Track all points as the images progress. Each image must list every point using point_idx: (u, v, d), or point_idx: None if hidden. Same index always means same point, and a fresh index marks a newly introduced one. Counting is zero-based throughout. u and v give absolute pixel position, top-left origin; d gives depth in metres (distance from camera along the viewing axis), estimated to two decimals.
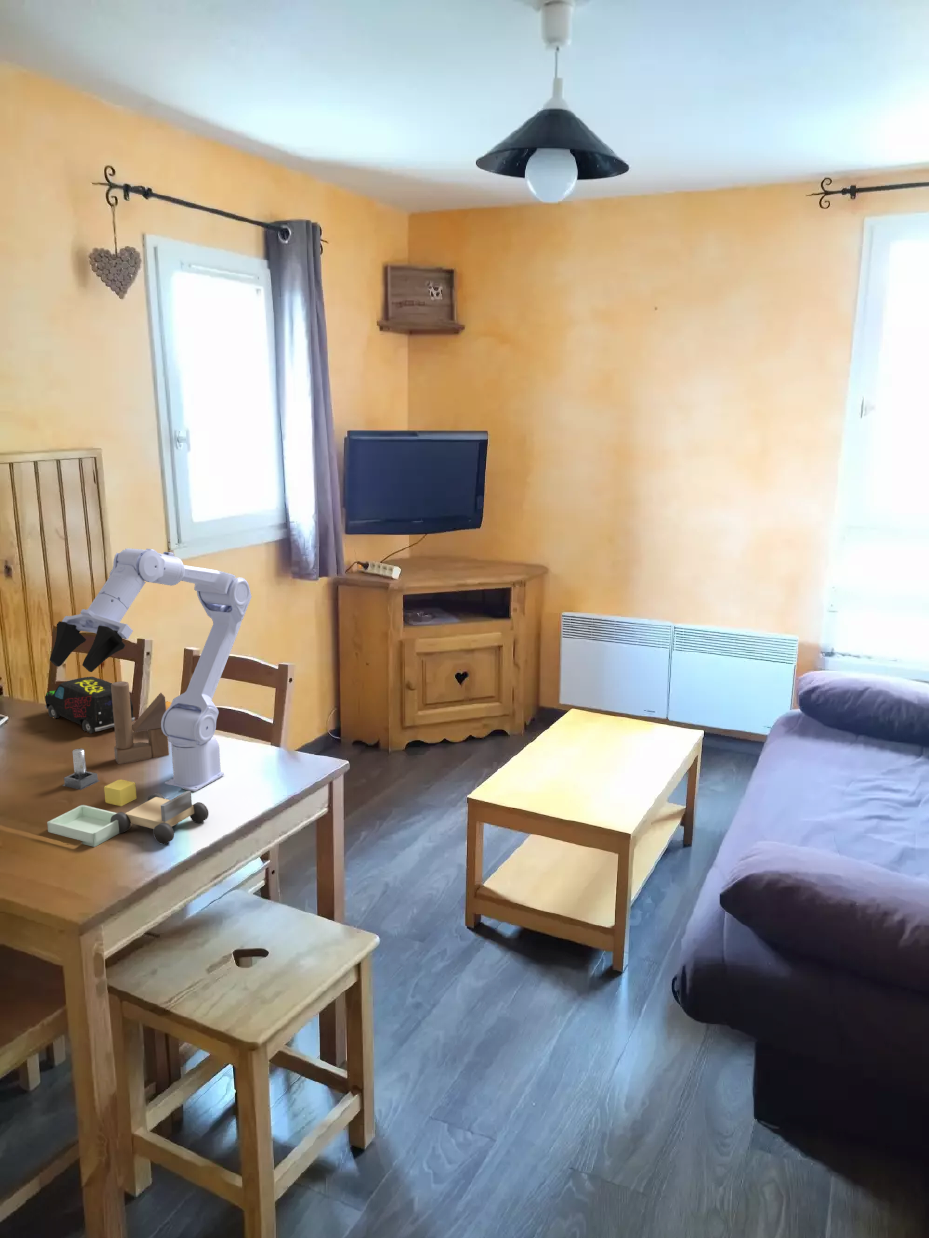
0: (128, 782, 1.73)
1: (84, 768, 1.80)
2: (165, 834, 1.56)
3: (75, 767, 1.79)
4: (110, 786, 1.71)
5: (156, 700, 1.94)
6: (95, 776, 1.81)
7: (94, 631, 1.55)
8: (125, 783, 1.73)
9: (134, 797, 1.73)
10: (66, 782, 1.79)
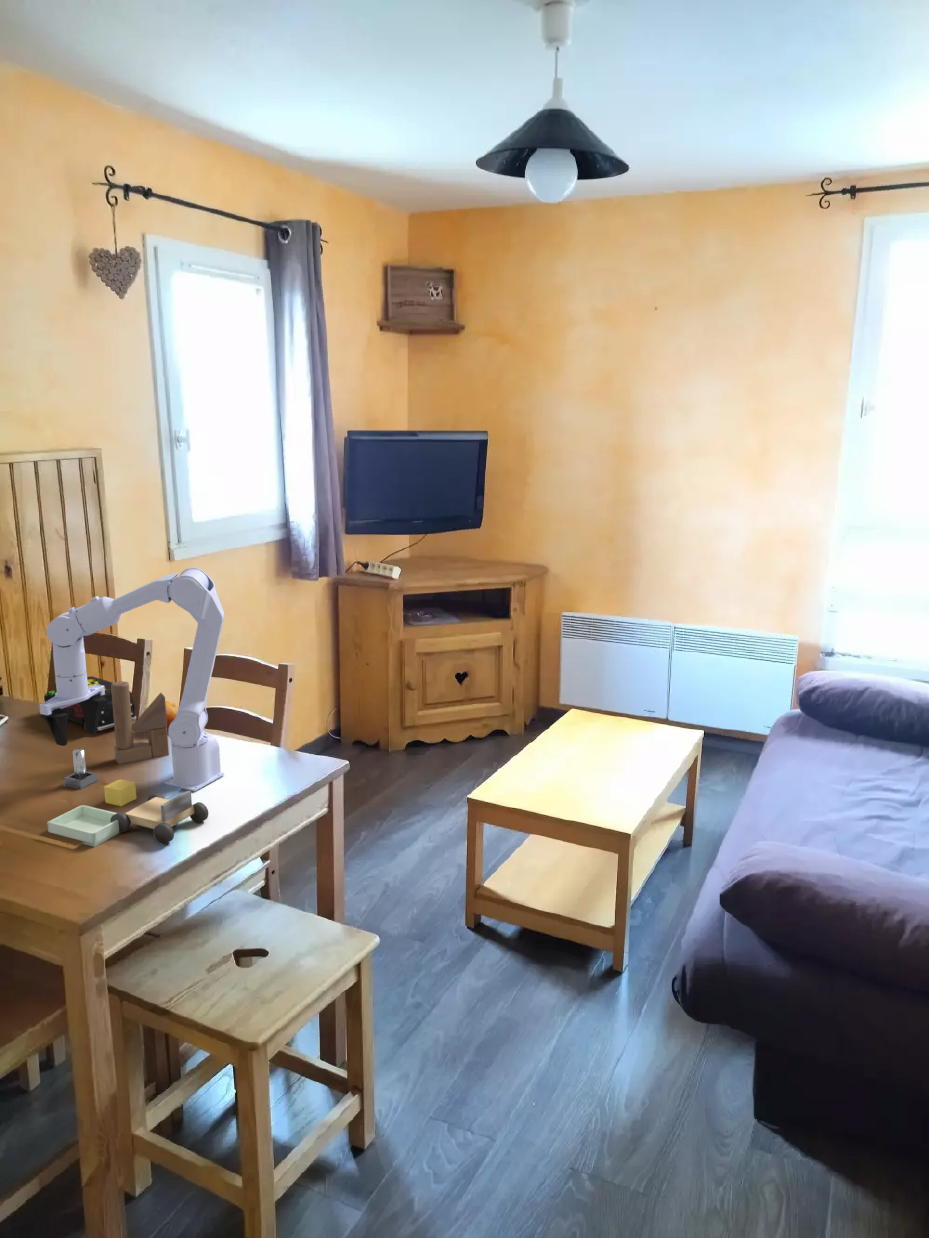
0: (128, 782, 1.73)
1: (84, 768, 1.80)
2: (165, 834, 1.56)
3: (75, 767, 1.79)
4: (110, 786, 1.71)
5: (156, 700, 1.94)
6: (95, 776, 1.81)
7: (72, 703, 1.76)
8: (125, 783, 1.73)
9: (134, 797, 1.73)
10: (66, 782, 1.79)
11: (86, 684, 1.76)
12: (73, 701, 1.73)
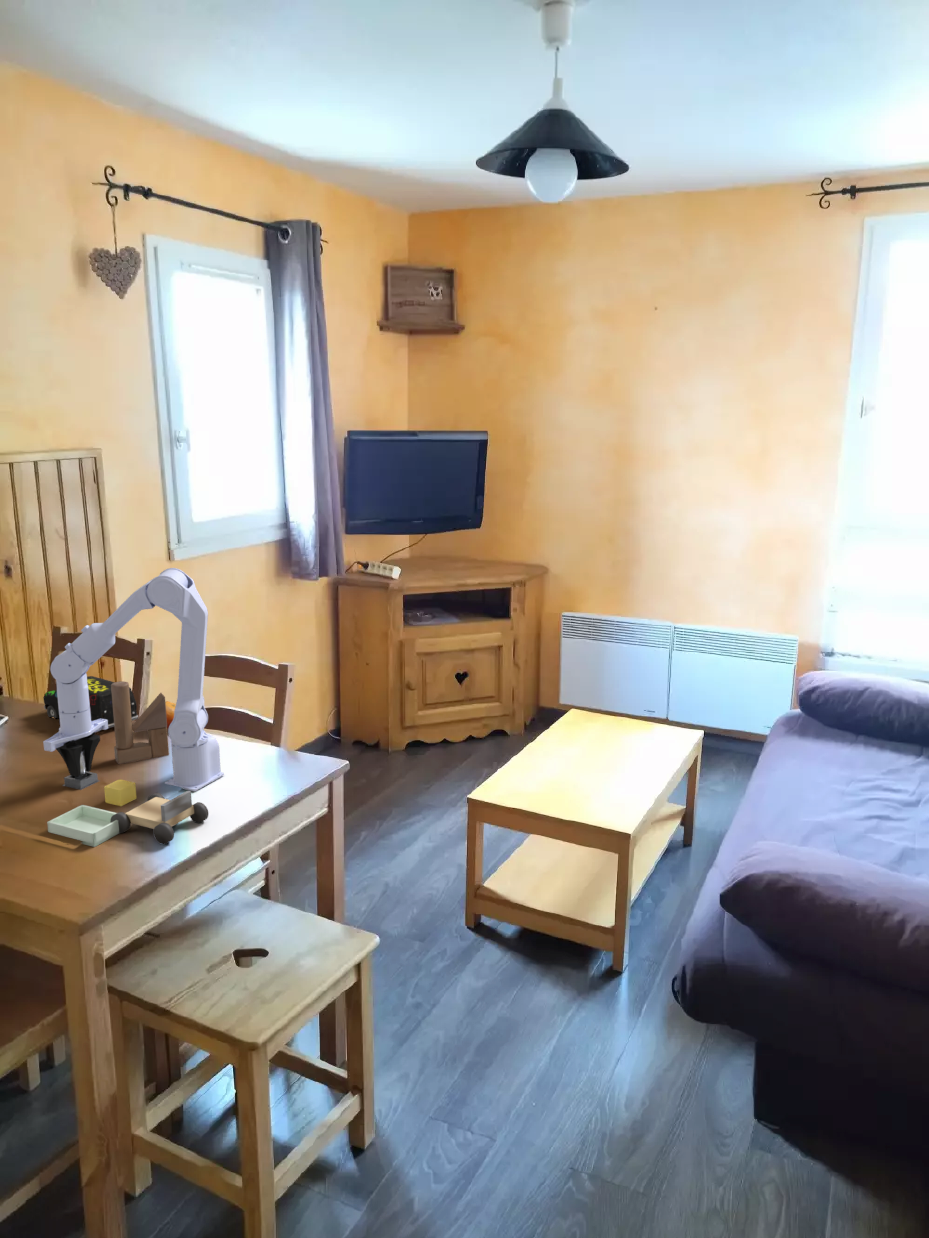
0: (128, 782, 1.73)
1: (84, 768, 1.80)
2: (165, 834, 1.56)
3: None
4: (110, 786, 1.71)
5: (156, 700, 1.94)
6: (95, 776, 1.81)
7: (75, 739, 1.78)
8: (125, 783, 1.73)
9: (134, 797, 1.73)
10: (66, 782, 1.79)
11: (89, 719, 1.78)
12: (77, 737, 1.75)
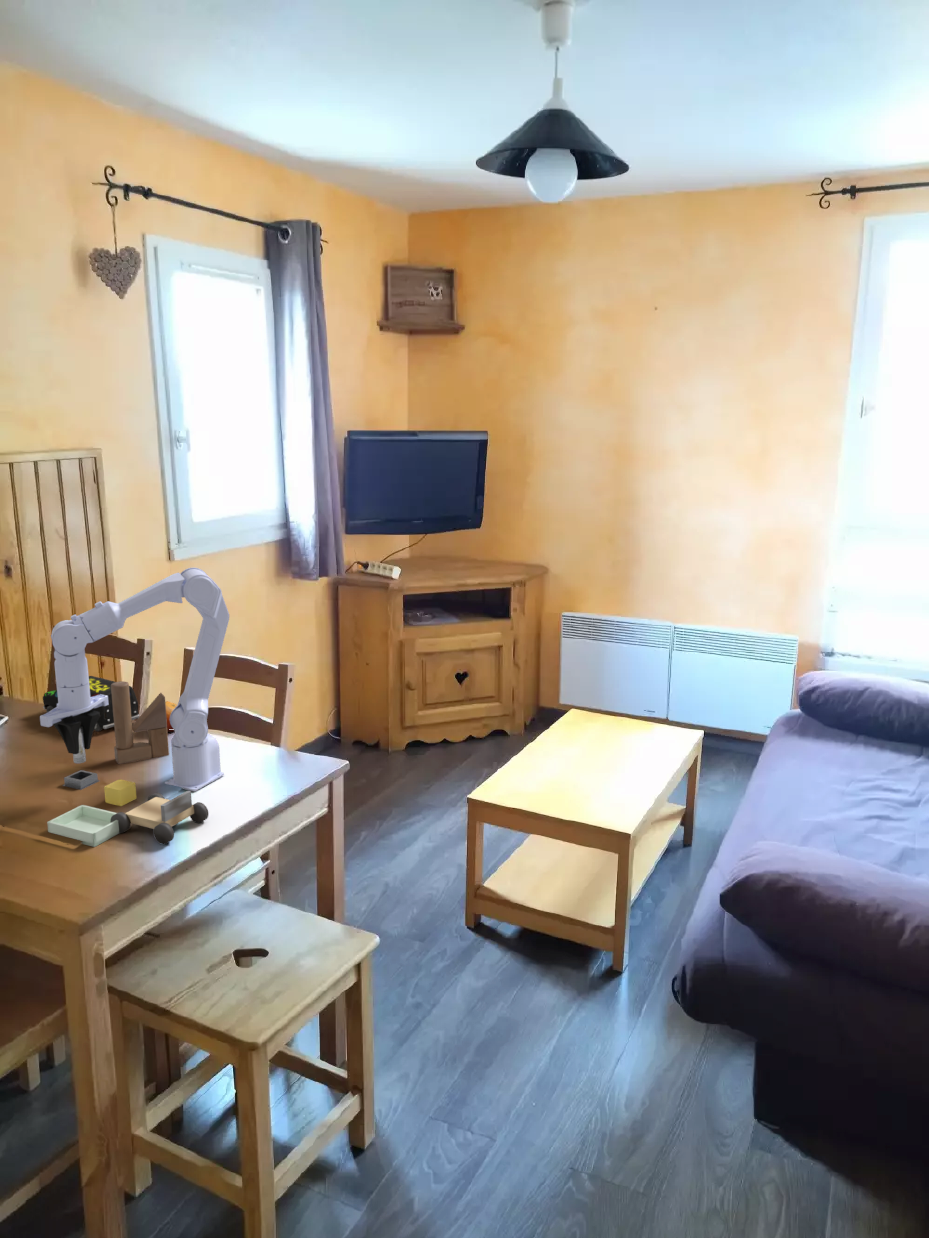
0: (128, 782, 1.73)
1: (82, 746, 1.72)
2: (165, 834, 1.56)
3: None
4: (110, 786, 1.71)
5: (156, 700, 1.94)
6: (95, 776, 1.81)
7: (74, 715, 1.70)
8: (125, 783, 1.73)
9: (134, 797, 1.73)
10: (66, 782, 1.79)
11: (88, 694, 1.70)
12: (75, 712, 1.67)
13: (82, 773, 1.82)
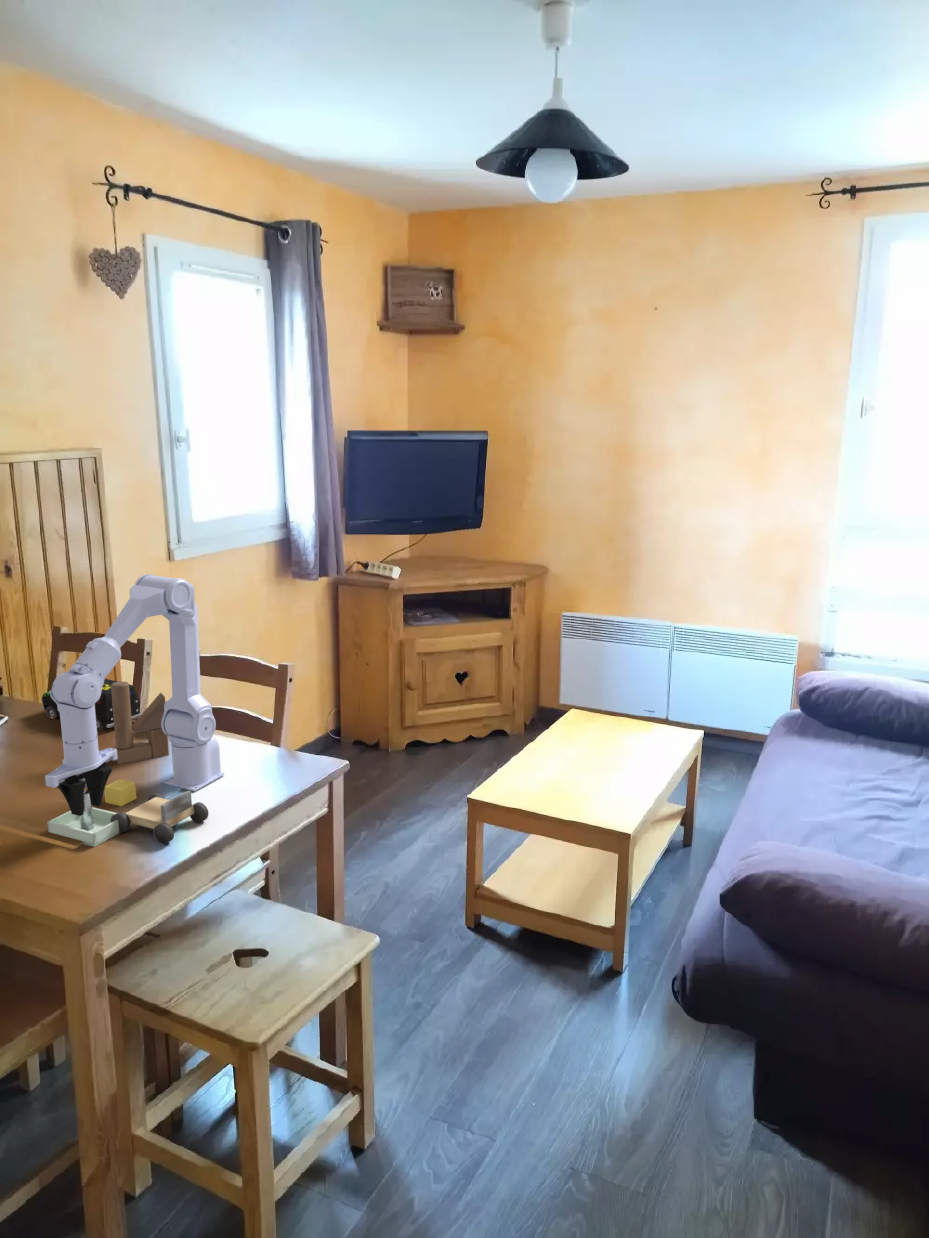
0: (128, 782, 1.73)
1: (90, 812, 1.60)
2: (165, 834, 1.56)
3: None
4: (110, 786, 1.71)
5: (156, 700, 1.94)
6: None
7: None
8: (125, 783, 1.73)
9: (134, 797, 1.73)
10: None
11: (97, 750, 1.58)
12: (82, 770, 1.55)
13: (82, 773, 1.82)
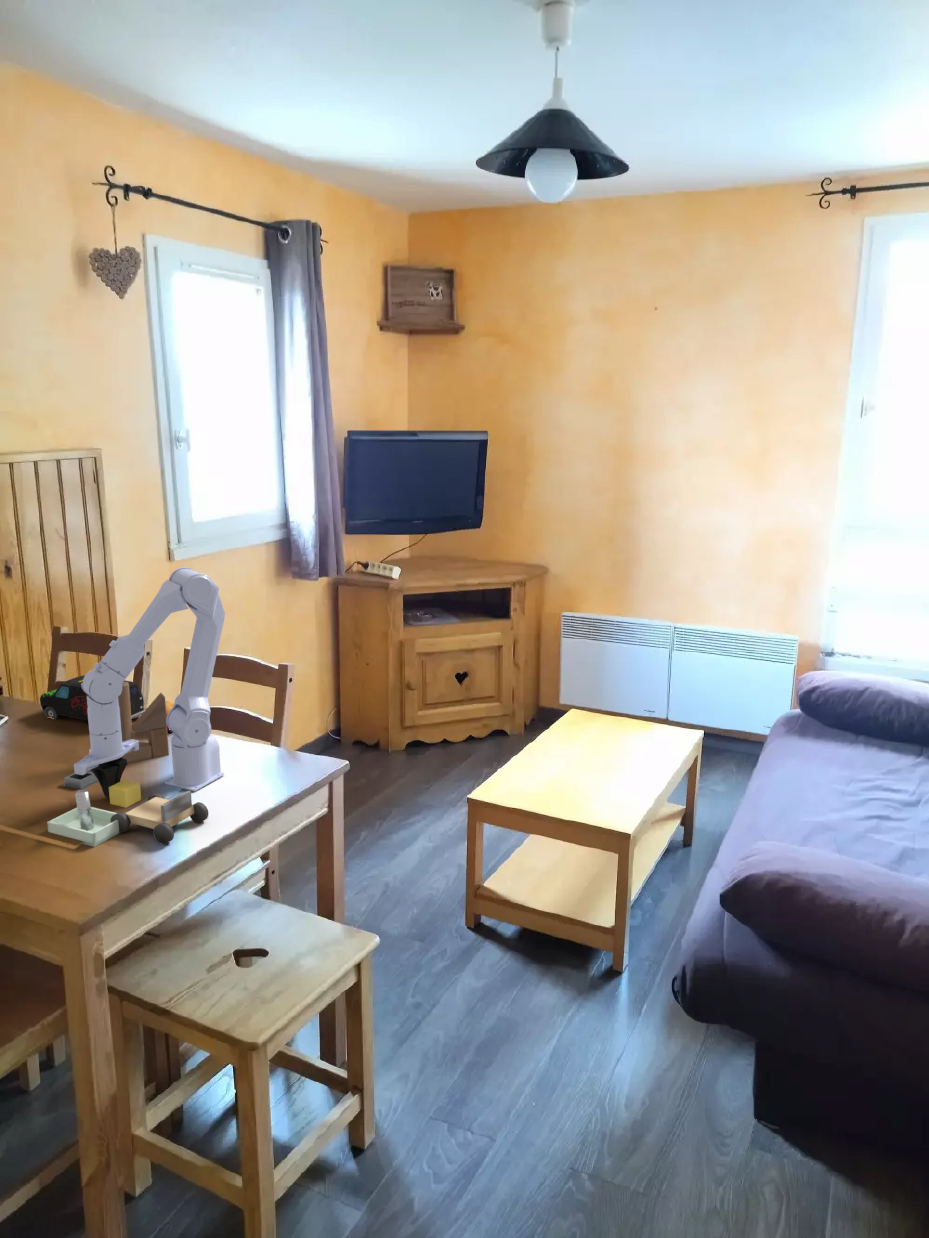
0: (133, 783, 1.73)
1: (89, 811, 1.60)
2: (165, 834, 1.56)
3: (79, 811, 1.59)
4: (115, 787, 1.71)
5: (156, 700, 1.94)
6: (95, 776, 1.81)
7: None
8: (130, 784, 1.72)
9: (139, 798, 1.73)
10: (66, 782, 1.79)
11: (121, 741, 1.71)
12: (108, 759, 1.69)
13: None
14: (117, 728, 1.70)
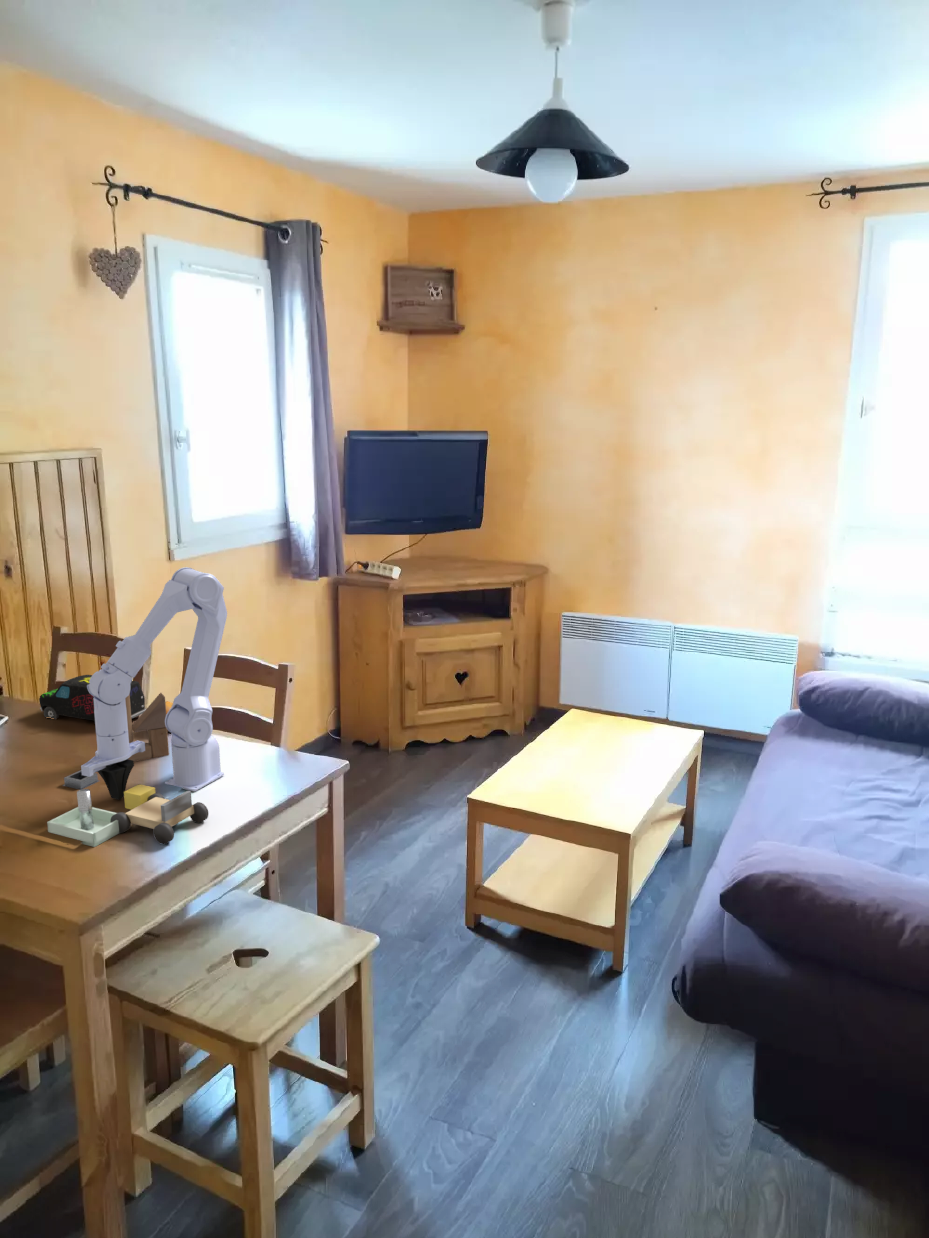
0: (148, 787, 1.71)
1: (90, 810, 1.60)
2: (165, 834, 1.56)
3: (80, 810, 1.60)
4: (130, 791, 1.69)
5: (156, 700, 1.94)
6: (95, 776, 1.81)
7: None
8: (145, 788, 1.70)
9: None
10: (66, 782, 1.79)
11: (128, 742, 1.71)
12: (115, 761, 1.68)
13: None
14: (125, 729, 1.69)
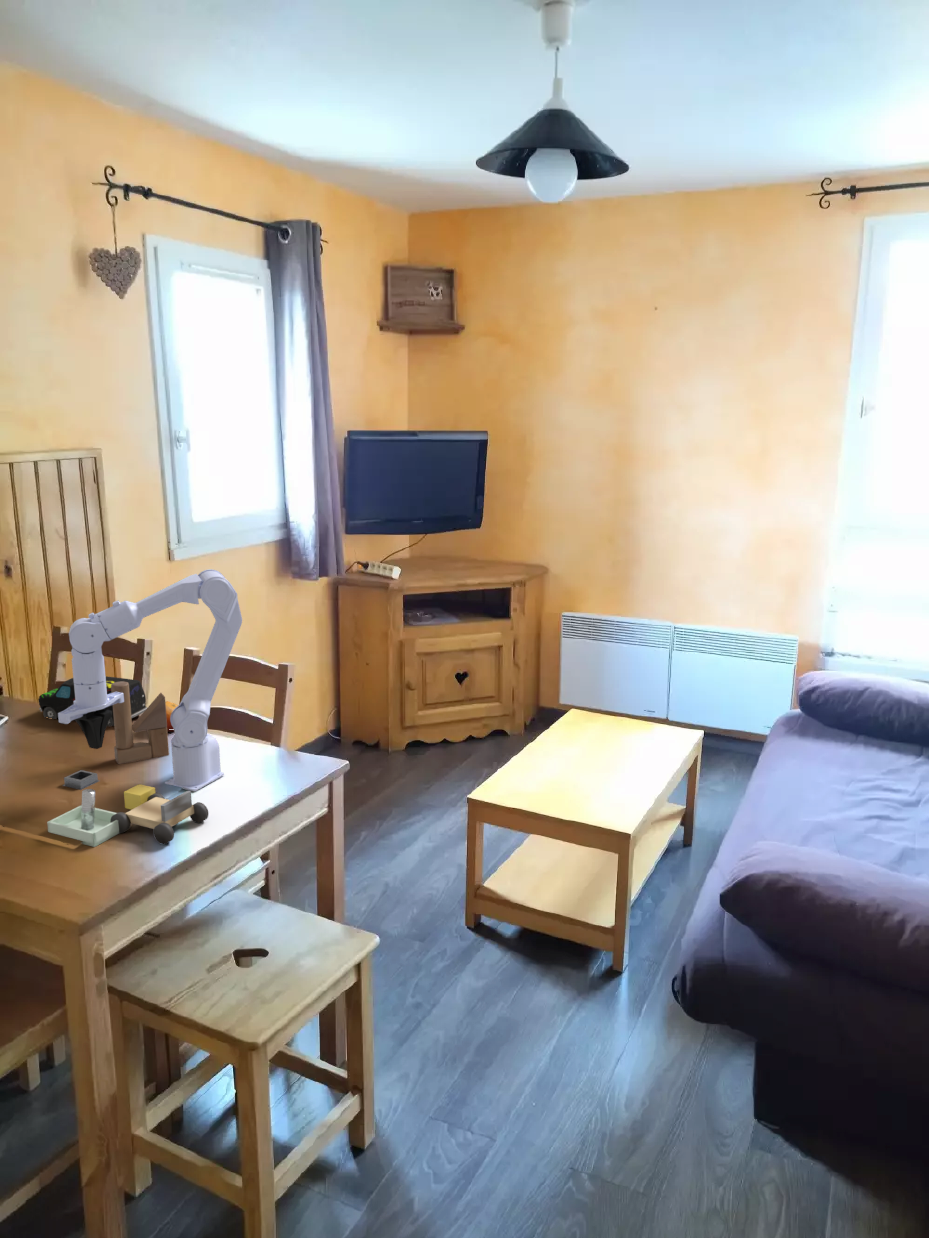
0: (148, 787, 1.71)
1: (94, 811, 1.61)
2: (165, 834, 1.56)
3: (84, 810, 1.59)
4: (130, 791, 1.69)
5: (156, 700, 1.94)
6: (95, 776, 1.81)
7: None
8: (145, 788, 1.70)
9: None
10: (66, 782, 1.79)
11: (105, 692, 1.72)
12: (92, 709, 1.69)
13: (82, 773, 1.82)
14: (99, 679, 1.69)
